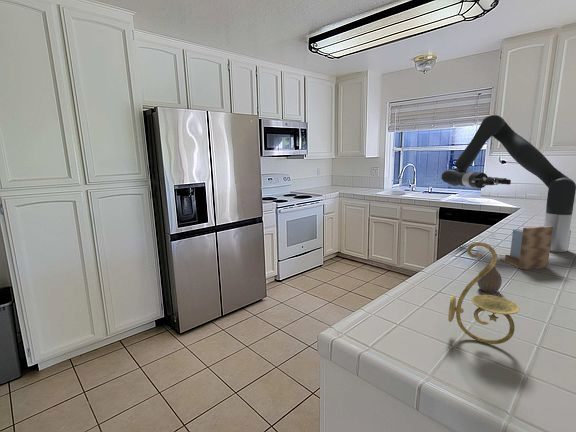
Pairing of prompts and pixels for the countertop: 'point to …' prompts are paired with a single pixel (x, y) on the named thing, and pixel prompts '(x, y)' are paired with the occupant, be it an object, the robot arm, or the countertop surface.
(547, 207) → the robot arm
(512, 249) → the light blue rectangular block
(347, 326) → the countertop surface
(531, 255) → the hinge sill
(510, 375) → the countertop surface
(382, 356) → the countertop surface
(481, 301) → the wall sconce
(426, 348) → the countertop surface
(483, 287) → the vase
